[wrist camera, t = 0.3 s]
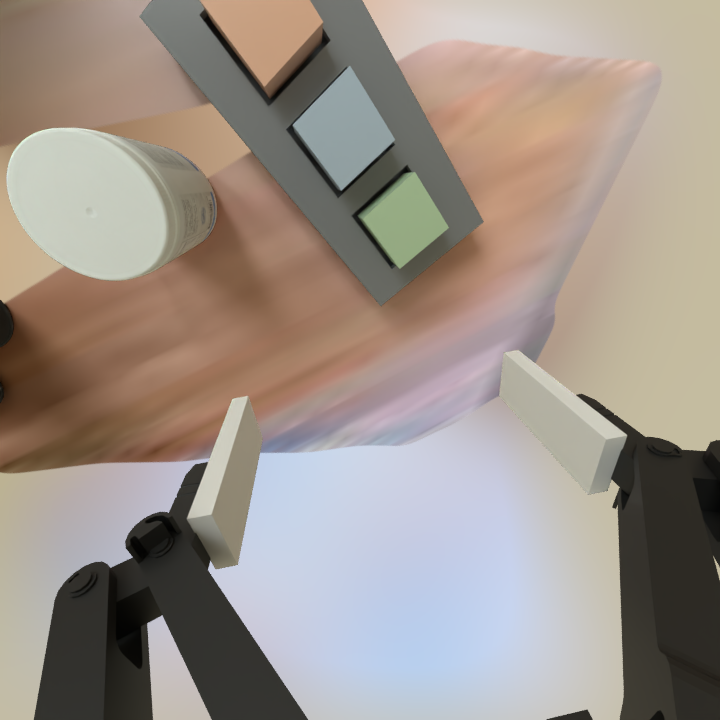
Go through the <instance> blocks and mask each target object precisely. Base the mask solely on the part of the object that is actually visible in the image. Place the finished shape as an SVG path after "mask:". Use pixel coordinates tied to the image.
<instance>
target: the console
mask: <svg viewBox="0 0 720 720" xmlns="http://www.w3.org/2000/svg"><path fill="white" fill-rule="evenodd" d="M310 1H311V3H312V4H313V6H314V8H315V9H316V11H317V13H318V14H319V16H320V17H321V19H322V21H323V31H322V43H321V44H320V46H319V47H318V48H317V49H316V50H315V51H314V52H313V53H312V54H311V55H310V56H309V57H308V59H307V60H306V61H305V62H304V63H303V64H302V65H301V66H300V67H299V68H298V69H297V70H296V72H295V73H294V74H293V75H292V76H291V77H290V78H289V79H288V80H287V81H286V82H285V83H284V84H283V86H282V87H281V88H280V89H279V90H278V91H277V92H276V93H275V94H274V95H273V96H272V97H271V99H269V97H268V96H267V95H266V93H265V92H264V91H263V89H262V88H261V87H260V85H259V84H258V83H257V81H256V80H255V79H254V77H253V76H252V75H251V73H250V72H249V71H248V69H247V68H246V67H245V65H244V64H243V63H242V61H241V60H240V59H239V57H238V56H237V55H236V53H235V52H234V51H233V49H232V48H231V47H230V45H229V44H228V43H227V41H226V40H225V39H224V37H223V36H222V35H221V33H220V32H219V31H218V29H217V28H216V27H215V25H214V24H213V22H212V21H211V19H210V17H209V16H208V14H207V12H206V11H205V9H204V7H203V5H202V4H201V2H200V0H152V1H151V2H150V3H149V5H148V6H147V7H146V8H145V10H144V11H143V12H142V14H141V15H140V16H139V17H140V18H141V19H142V20H143V21H144V23H145V24H146V25H147V26H148V27H149V29H150V30H151V31H152V32H153V33H154V35H155V36H156V37H157V38H158V39H159V41H160V42H161V43H162V44H163V45H164V47H165V48H166V49H167V50H168V51H169V53H170V54H171V55H172V56H173V57H174V59H175V60H176V61H177V62H178V63H179V65H180V66H181V67H182V68H183V69H184V71H185V72H186V73H187V74H188V75H189V77H190V78H191V79H192V80H193V81H194V83H195V84H196V85H197V86H198V87H199V89H200V90H201V91H202V92H203V93H204V95H205V96H206V97H207V98H208V99H209V101H210V102H211V103H212V104H213V105H214V106H215V108H216V109H217V110H218V111H219V113H220V114H221V115H222V116H223V117H224V118H225V120H226V121H227V122H228V123H229V124H230V126H231V127H232V128H233V129H234V131H235V132H236V133H237V134H238V135H239V137H240V138H241V139H242V140H243V141H244V143H245V144H246V145H247V146H248V147H249V149H250V150H251V151H252V152H253V153H254V155H255V156H256V157H257V158H258V159H259V161H260V162H261V163H262V164H263V165H264V167H265V168H266V169H267V170H268V171H269V173H270V174H271V175H272V176H273V177H274V179H275V180H276V181H277V182H278V183H279V185H280V186H281V187H282V188H283V189H284V191H285V192H286V193H287V194H288V195H289V197H290V198H291V199H292V200H293V201H294V203H295V204H296V205H297V206H298V207H299V209H300V210H301V211H302V212H303V213H304V215H305V216H306V217H307V218H308V219H309V221H310V222H311V223H312V224H313V225H314V227H315V228H316V229H317V230H318V231H319V233H320V234H321V235H322V236H323V237H324V239H325V240H326V241H327V242H328V244H329V245H330V246H331V247H332V248H333V250H334V251H335V252H336V253H337V254H338V256H339V257H340V258H341V259H342V260H343V262H344V263H345V264H346V265H347V266H348V268H349V269H350V270H351V271H352V272H353V274H354V275H355V276H356V277H357V278H358V280H359V281H360V282H361V283H362V284H363V286H364V287H365V288H366V289H367V290H368V292H369V293H370V294H371V295H372V296H373V298H374V299H375V300H376V301H377V302H378V304H379V305H380V306H382V305H383V304H384V303H385V302H386V301H388V300H389V299H390V298H391V297H393V296H394V295H395V294H396V293H397V292H399V291H400V290H401V289H402V288H404V287H405V286H406V285H407V284H408V283H410V282H411V281H412V280H413V279H415V278H416V277H417V276H418V275H419V274H421V273H422V272H423V271H424V270H426V269H427V268H428V267H429V266H430V265H432V264H433V263H434V262H435V261H437V260H438V259H439V258H440V257H441V256H443V255H444V254H445V253H446V252H447V251H449V250H450V249H451V248H452V247H454V246H455V245H456V244H457V243H458V242H460V241H461V240H462V239H463V238H465V237H466V236H467V235H468V234H469V233H471V232H472V231H473V230H474V229H476V228H477V227H478V226H479V225H480V224H482V223H483V220H482V218H481V216H480V214H479V212H478V211H477V209H476V207H475V205H474V203H473V201H472V200H471V198H470V196H469V194H468V192H467V191H466V189H465V187H464V185H463V183H462V181H461V180H460V178H459V176H458V174H457V172H456V171H455V169H454V167H453V165H452V163H451V161H450V160H449V158H448V156H447V154H446V152H445V150H444V149H443V147H442V145H441V143H440V141H439V140H438V138H437V136H436V134H435V132H434V130H433V129H432V127H431V125H430V123H429V121H428V120H427V118H426V116H425V114H424V112H423V110H422V109H421V107H420V105H419V103H418V101H417V99H416V98H415V96H414V94H413V92H412V90H411V89H410V87H409V85H408V83H407V81H406V79H405V78H404V76H403V74H402V72H401V70H400V68H399V67H398V65H397V63H396V61H395V59H394V58H393V56H392V54H391V52H390V50H389V48H388V47H387V45H386V43H385V41H384V39H383V38H382V36H381V34H380V32H379V30H378V28H377V27H376V25H375V23H374V21H373V19H372V17H371V16H370V14H369V12H368V10H367V8H366V7H365V5H364V3H363V1H362V0H310ZM349 66H350V67H351V68H352V70H353V71H354V73H355V75H356V76H357V78H358V80H359V81H360V83H361V85H362V86H363V88H364V89H365V91H366V93H367V94H368V96H369V98H370V99H371V101H372V103H373V104H374V106H375V107H376V109H377V111H378V112H379V114H380V116H381V117H382V119H383V121H384V122H385V124H386V125H387V127H388V129H389V130H390V132H391V134H392V135H393V137H394V138H395V141H394V142H392V143H391V144H390V145H389V146H388V147H387V148H386V149H385V150H384V151H383V152H382V153H381V154H380V155H379V156H378V157H377V158H375V159H374V160H373V161H372V162H371V163H370V164H369V165H368V166H367V167H366V168H365V169H364V170H363V171H362V172H361V173H360V174H359V175H357V176H356V177H355V178H354V179H353V180H352V181H351V182H350V183H349V184H348V185H347V186H346V187H345V188H344V189H343V190H342V191H341V190H338V189H337V188H336V187H335V185H334V184H333V183H332V181H331V180H330V179H329V177H328V176H327V175H326V173H325V172H324V171H323V169H322V168H321V167H320V165H319V164H318V163H317V161H316V160H315V159H314V157H313V156H312V155H311V153H310V152H309V151H308V149H307V148H306V147H305V145H304V144H303V143H302V141H301V140H300V139H299V137H298V136H297V135H296V133H295V132H294V128H293V124H294V123H295V122H296V121H297V120H298V119H299V118H300V117H301V116H302V115H303V114H304V113H305V112H306V111H307V110H308V108H309V107H310V106H311V105H312V104H313V103H314V102H315V101H316V100H317V99H318V98H319V97H320V96H321V95H322V94H323V93H324V92H325V91H326V90H327V89H328V88H329V87H330V86H331V85H332V84H333V83H334V81H335V80H336V79H337V78H338V77H339V76H340V75H341V74H342V73H343V72H344V71H345V70H346V69H347V68H348V67H349ZM410 172H415V173H416V174H417V176H418V178H419V179H420V181H421V183H422V184H423V186H424V188H425V189H426V191H427V192H428V194H429V196H430V197H431V199H432V201H433V202H434V204H435V206H436V207H437V209H438V210H439V212H440V214H441V215H442V217H443V219H444V220H445V222H446V224H447V225H448V227H449V228H448V229H447V230H446V231H445V232H443V233H442V234H441V235H440V236H439V237H437V238H436V239H435V240H434V241H433V242H431V243H430V244H429V245H428V246H427V247H425V248H424V249H423V250H422V251H421V252H419V253H418V254H417V255H416V256H415V257H413V258H412V259H411V260H410V261H409V262H407V263H406V264H405V265H404V266H403V267H401V268H400V269H399V268H398V267H397V266H396V265H395V264H394V263H393V262H392V261H391V260H390V259H389V258H388V256H387V255H386V254H385V252H384V251H383V250H382V248H381V247H380V246H379V244H378V243H377V242H376V240H375V239H374V238H373V236H372V235H371V234H370V232H369V231H368V230H367V228H366V227H365V226H364V224H363V223H362V222H361V220H360V219H359V218H358V216H357V215H358V214H359V213H360V212H362V211H363V210H364V209H365V208H366V207H367V206H368V205H369V204H370V203H371V202H373V201H374V200H375V199H376V198H377V197H378V196H379V195H380V194H381V193H382V192H384V191H385V190H386V189H387V188H388V187H389V186H390V185H391V184H392V183H393V182H395V181H396V180H397V179H398V178H399V177H400V176H401V175H402V174H403V173H410Z"/></svg>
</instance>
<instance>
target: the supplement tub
mask: <svg viewBox="0 0 720 720" xmlns="http://www.w3.org/2000/svg"><path fill="white" fill-rule="evenodd" d="M7 191H8V195H9V199H10V202H11V205H12V208H13V210H14V212H15V214H16V216H17V218H18V220H19V222H20V224H21V225H22V227H23V228H24V230H25V231H26V232H27V234H28V235H29V236H30V238H32V240H33V241H34V242H35V243H36V244H37V245H38V246H39V247H40V248H41V249H42V250H43V251H44V252H45V253H47V254H48V255H49V256H50V257H51V258H53V259H54V260H56V261H57V262H59V263H60V264H62V265H63V266H65V267H67V268H69V269H71V270H73V271H75V272H77V273H80V274H82V275H85V276H88V277H91V278H95V279H100V280H107V281H123V280H130V279H134V278H137V277H140V276H144V275H147V274H149V273H151V272H153V271H155V270H157V269H159V268H160V267H162V266H164V265H165V264H167V263H169V262H171V261H172V260H174V259H175V258H177V257H179V256H180V255H182V254H184V253H185V252H187V251H189V250H190V249H192V248H194V247H195V246H197V245H198V244H200V243H201V242H203V241H204V240H205V239H206V238H207V237H208V236H209V235H210V233H211V232H212V230H213V228H214V225H215V222H216V218H217V203H216V198H215V195H214V192H213V189H212V187H211V185H210V183H209V181H208V179H207V178H206V176H205V175H204V174H203V172H202V171H201V170H200V169H199V168H198V167H197V166H196V165H195V164H194V163H193V162H192V161H190V160H189V159H188V158H187V157H185V156H183V155H182V154H180V153H178V152H177V151H174V150H172V149H169V148H166V147H162V146H158V145H154V144H150V143H145V142H141V141H137V140H132V139H129V138H125V137H120V136H117V135H112V134H108V133H104V132H99V131H95V130H89V129H83V128H50V129H45V130H42V131H39V132H36V133H34V134H32V135H30V136H28V137H27V138H25V139H24V140H23V141H22V142H21V143H20V144H19V145H18V146H17V147H16V149H15V150H14V152H13V154H12V156H11V158H10V161H9V164H8V169H7Z"/></svg>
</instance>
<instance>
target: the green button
mask: <svg viewBox="0 0 720 720" xmlns="http://www.w3.org/2000/svg"><path fill="white" fill-rule="evenodd" d="M357 216H358V218H359V219H360V220H361V222H362V223H363V224H364V226H365V227H366V228H367V230H368V231H369V232H370V234H371V235H372V236H373V238H374V239H375V240H376V242H377V243H378V244H379V246H380V247H381V248H382V250H383V251H384V252H385V254H386V255H387V256H388V258H389V259H390V260H391V261H392V262H393V263H394V264H395V265H396V266H397V267H398V268H399V269H400V268H401V267H403V266H404V265H405V264H406V263H407V262H409V261H410V260H411V259H412V258H413V257H415V256H416V255H417V254H418V253H419V252H421V251H422V250H423V249H424V248H425V247H427V246H428V245H429V244H430V243H431V242H433V241H434V240H435V239H436V238H437V237H439V236H440V235H441V234H442V233H443V232H445V231H446V230H447V229H448V228H449V227H448V225H447V224H446V222H445V220H444V219H443V217H442V215H441V214H440V212H439V210H438V209H437V207H436V206H435V204H434V202H433V201H432V199H431V197H430V196H429V194H428V192H427V191H426V189H425V188H424V186H423V184H422V183H421V181H420V179H419V178H418V176H417V174H416V173H415V172H410V173H403V174H402V175H401V176H400V177H399V178H398V179H397V180H396V181H395V182H393V183H392V184H391V185H390V186H389V187H388V188H387V189H386V190H385V191H384V192H382V193H381V194H380V195H379V196H378V197H377V198H376V199H375V200H374V201H373V202H371V203H370V204H369V205H368V206H367V207H366V208H365V209H364V210H363V211H362V212H360V213H359V214H358V215H357Z"/></svg>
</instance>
